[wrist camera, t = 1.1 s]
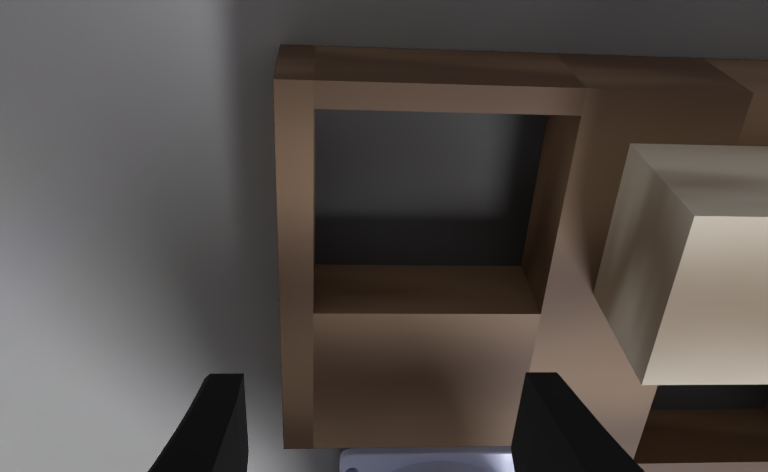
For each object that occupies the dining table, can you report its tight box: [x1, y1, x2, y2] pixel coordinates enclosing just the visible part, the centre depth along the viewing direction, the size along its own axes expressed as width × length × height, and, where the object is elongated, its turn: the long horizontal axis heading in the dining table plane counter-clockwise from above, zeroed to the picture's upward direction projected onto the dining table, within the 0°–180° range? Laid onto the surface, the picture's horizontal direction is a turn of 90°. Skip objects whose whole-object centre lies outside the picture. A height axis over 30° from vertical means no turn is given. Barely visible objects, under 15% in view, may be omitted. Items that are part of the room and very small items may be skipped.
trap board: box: [273, 45, 768, 472], centre depth 23 cm, size 15×26×5 cm, turn 87°
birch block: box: [593, 143, 768, 385], centre depth 19 cm, size 5×5×4 cm
